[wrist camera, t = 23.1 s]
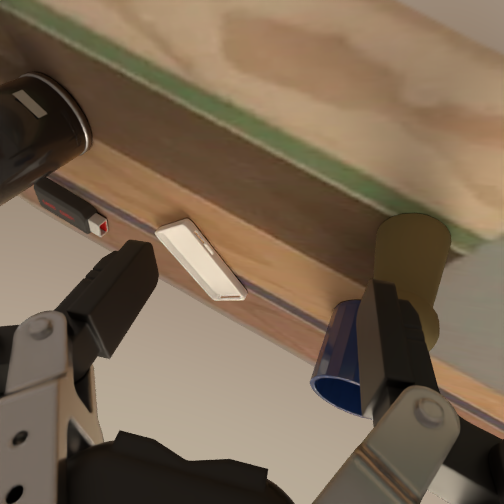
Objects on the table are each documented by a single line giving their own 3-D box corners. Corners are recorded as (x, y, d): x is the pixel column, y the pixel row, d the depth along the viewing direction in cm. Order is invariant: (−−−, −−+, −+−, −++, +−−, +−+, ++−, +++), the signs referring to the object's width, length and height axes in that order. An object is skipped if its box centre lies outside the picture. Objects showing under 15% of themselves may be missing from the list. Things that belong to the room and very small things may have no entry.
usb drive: (43, 175, 49) (28, 185, 47) (107, 214, 48) (94, 225, 47) (50, 197, 53) (37, 206, 51) (109, 233, 53) (98, 243, 51)
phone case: (158, 226, 44) (217, 294, 51) (152, 232, 44) (213, 301, 51) (189, 217, 40) (249, 293, 47) (183, 223, 39) (245, 300, 46)
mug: (394, 351, 41) (381, 428, 35) (328, 326, 44) (306, 394, 38) (433, 298, 31) (425, 391, 25) (345, 271, 34) (320, 349, 28)
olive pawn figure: (376, 210, 27) (347, 309, 21) (457, 215, 24) (453, 331, 18) (375, 258, 31) (351, 354, 24) (445, 267, 28) (438, 378, 22)
